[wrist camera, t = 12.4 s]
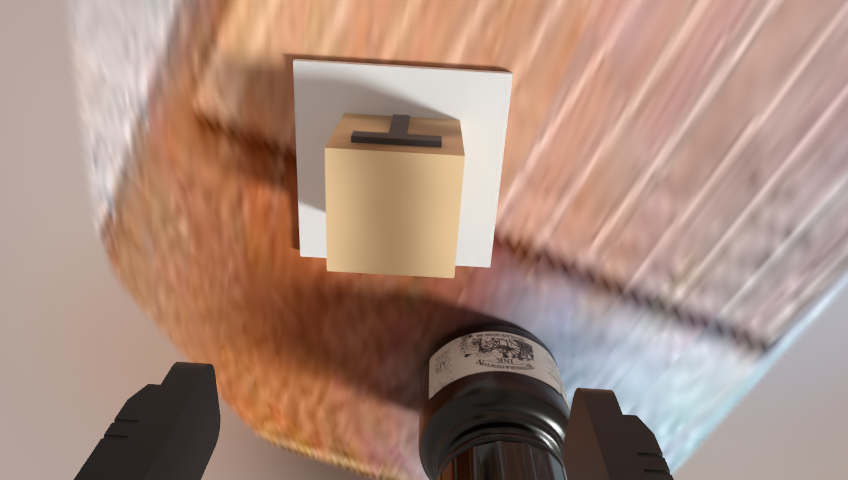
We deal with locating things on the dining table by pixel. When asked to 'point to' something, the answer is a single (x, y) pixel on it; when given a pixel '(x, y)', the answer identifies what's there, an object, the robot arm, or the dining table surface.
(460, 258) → the white mat
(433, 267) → the lettered block
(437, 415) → the ink bottle
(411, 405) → the dining table surface
